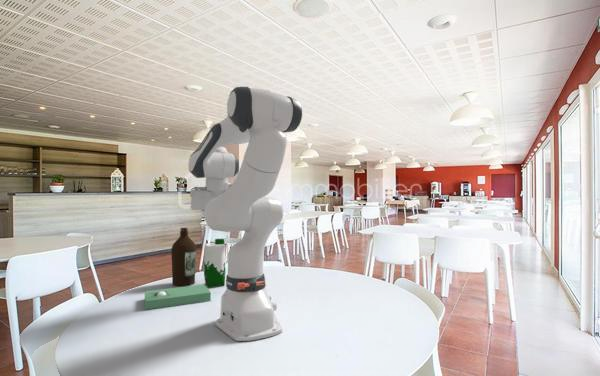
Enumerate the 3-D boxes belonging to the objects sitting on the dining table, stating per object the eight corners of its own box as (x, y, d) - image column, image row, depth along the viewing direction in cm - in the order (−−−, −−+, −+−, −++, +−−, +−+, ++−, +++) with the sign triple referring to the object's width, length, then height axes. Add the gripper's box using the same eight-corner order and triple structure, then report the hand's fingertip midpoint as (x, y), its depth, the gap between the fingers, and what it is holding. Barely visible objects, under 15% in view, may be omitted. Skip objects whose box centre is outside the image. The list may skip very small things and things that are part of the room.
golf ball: (159, 304, 117) (169, 298, 119) (154, 296, 117) (164, 291, 118) (159, 301, 120) (168, 295, 122) (154, 293, 120) (163, 288, 121)
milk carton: (227, 286, 140) (227, 240, 141) (205, 288, 136) (205, 241, 137) (222, 281, 148) (223, 237, 149) (202, 283, 144) (202, 238, 145)
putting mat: (204, 291, 132) (204, 284, 132) (210, 300, 120) (210, 292, 120) (144, 299, 122) (144, 291, 122) (145, 309, 111) (145, 301, 111)
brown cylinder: (165, 285, 141) (166, 228, 142) (183, 279, 151) (183, 226, 152) (184, 288, 137) (184, 229, 138) (201, 282, 147) (201, 227, 148)
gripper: (191, 186, 124) (191, 222, 123) (243, 187, 133) (242, 220, 132) (189, 186, 129) (188, 221, 129) (238, 187, 138) (238, 219, 138)
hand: (216, 220), depth 131 cm, fingers closed
